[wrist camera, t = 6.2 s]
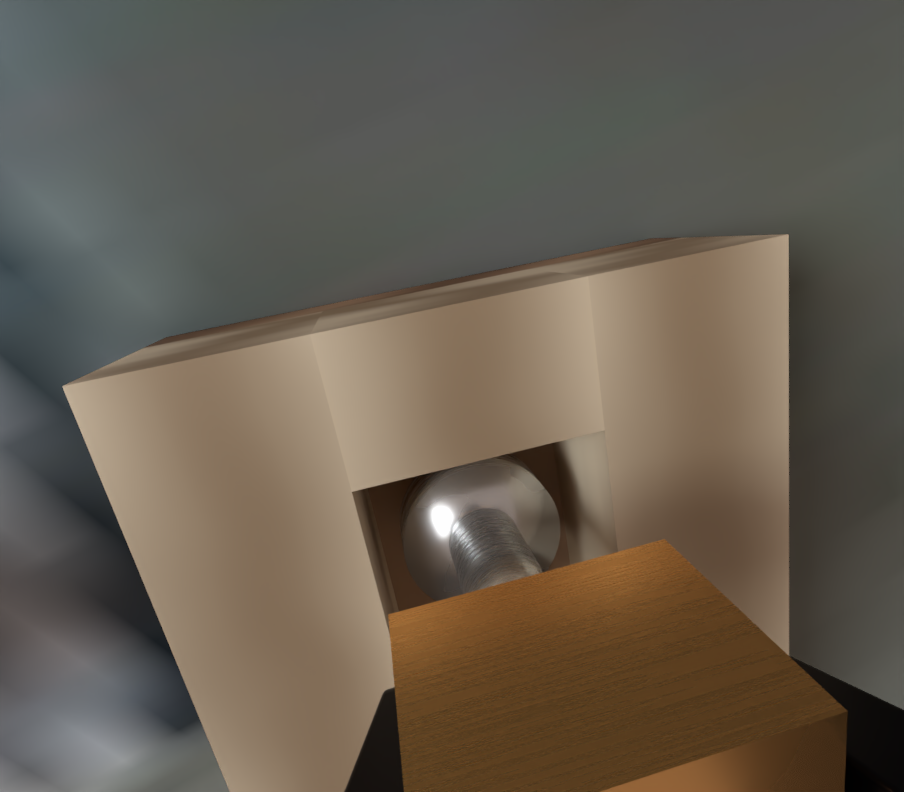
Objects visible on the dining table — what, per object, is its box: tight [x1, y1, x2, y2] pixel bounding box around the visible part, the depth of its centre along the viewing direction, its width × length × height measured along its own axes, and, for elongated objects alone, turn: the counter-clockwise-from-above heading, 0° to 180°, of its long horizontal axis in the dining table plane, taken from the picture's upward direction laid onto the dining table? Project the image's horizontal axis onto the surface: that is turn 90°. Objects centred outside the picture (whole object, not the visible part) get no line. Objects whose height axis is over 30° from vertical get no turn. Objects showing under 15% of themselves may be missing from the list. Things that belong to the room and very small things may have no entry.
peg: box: [388, 453, 848, 792], centre depth 9 cm, size 4×4×8 cm
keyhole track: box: [62, 234, 789, 792], centre depth 15 cm, size 13×20×5 cm, turn 10°
